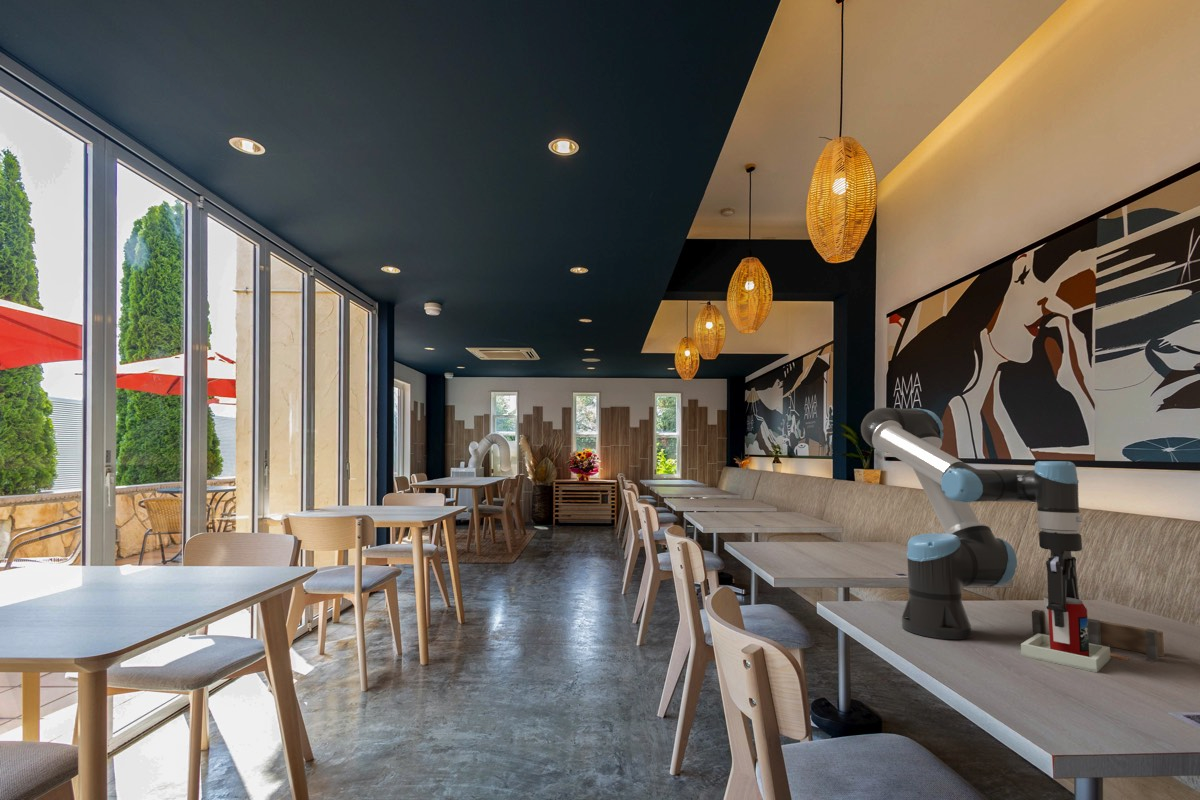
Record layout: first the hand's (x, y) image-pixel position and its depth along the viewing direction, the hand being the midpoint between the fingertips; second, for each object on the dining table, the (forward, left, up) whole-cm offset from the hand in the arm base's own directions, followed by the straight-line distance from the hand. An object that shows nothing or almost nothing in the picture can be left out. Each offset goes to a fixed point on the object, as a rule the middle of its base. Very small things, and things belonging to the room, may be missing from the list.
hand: (1066, 639), depth 132 cm
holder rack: (+2, +14, -4) cm, 15 cm away
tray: (0, 0, -4) cm, 4 cm away
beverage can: (0, 0, -4) cm, 4 cm away
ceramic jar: (-4, +14, -4) cm, 16 cm away
